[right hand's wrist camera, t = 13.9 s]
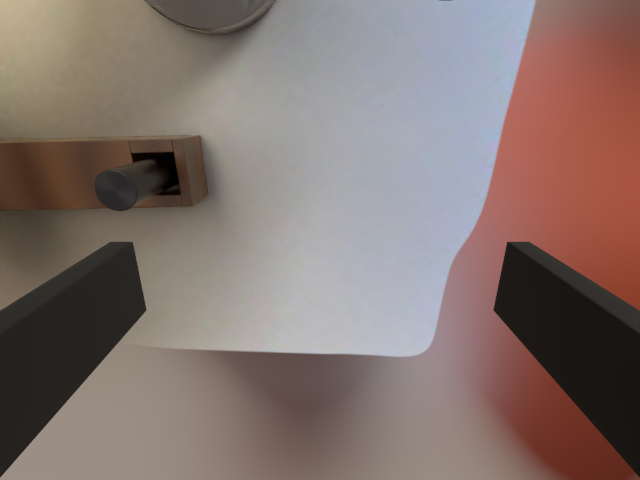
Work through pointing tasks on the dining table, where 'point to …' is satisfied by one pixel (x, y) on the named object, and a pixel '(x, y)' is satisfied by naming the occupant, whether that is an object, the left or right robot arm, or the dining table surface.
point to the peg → (136, 181)
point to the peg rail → (92, 170)
